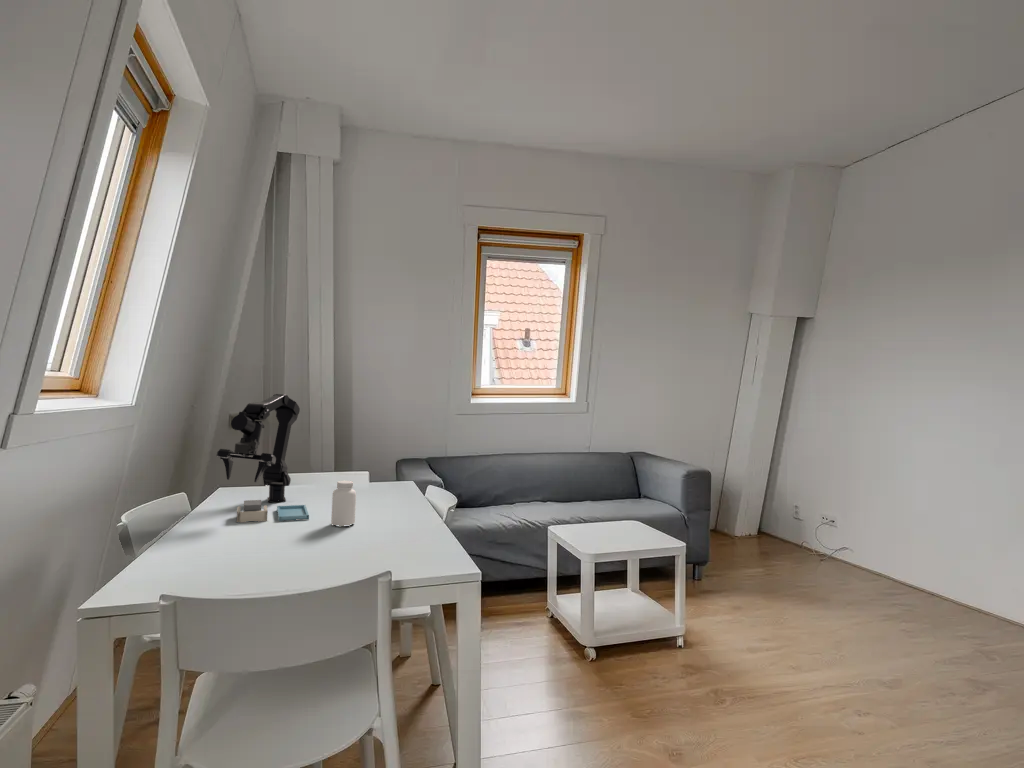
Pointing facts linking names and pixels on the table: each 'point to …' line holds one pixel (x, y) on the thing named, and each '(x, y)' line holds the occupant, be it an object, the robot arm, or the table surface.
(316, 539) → the table surface
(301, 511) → the tray
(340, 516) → the pill bottle
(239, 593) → the table surface
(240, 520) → the bay
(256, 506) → the grey rectangular block
